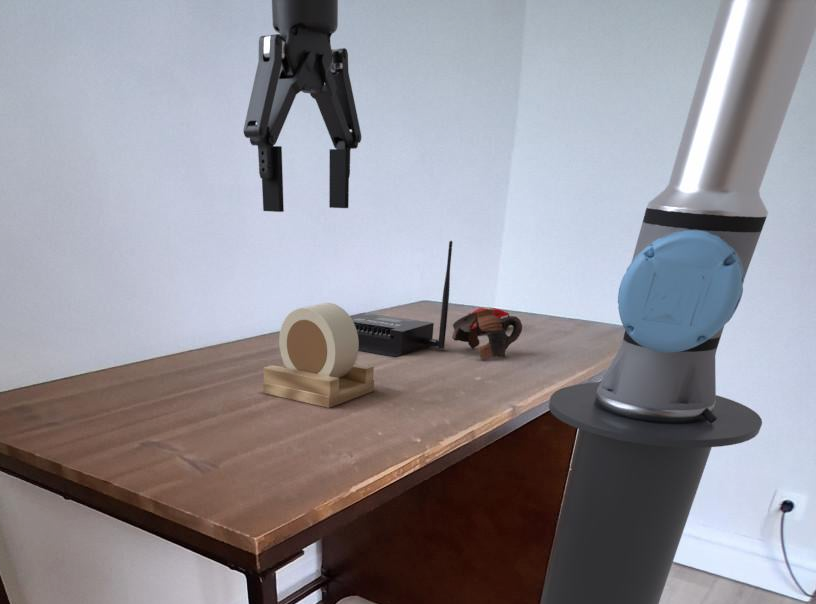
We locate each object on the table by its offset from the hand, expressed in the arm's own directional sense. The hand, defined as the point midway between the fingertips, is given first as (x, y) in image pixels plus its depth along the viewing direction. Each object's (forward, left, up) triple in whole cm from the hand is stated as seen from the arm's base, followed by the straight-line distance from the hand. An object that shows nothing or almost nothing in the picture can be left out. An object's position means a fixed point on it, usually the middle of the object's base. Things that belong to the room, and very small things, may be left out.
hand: (307, 210), depth 87 cm
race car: (-1, -55, -22) cm, 60 cm away
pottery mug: (-11, -36, -22) cm, 44 cm away
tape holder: (-3, +2, -22) cm, 23 cm away
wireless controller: (+6, -31, -22) cm, 39 cm away
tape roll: (-3, +2, -21) cm, 21 cm away
